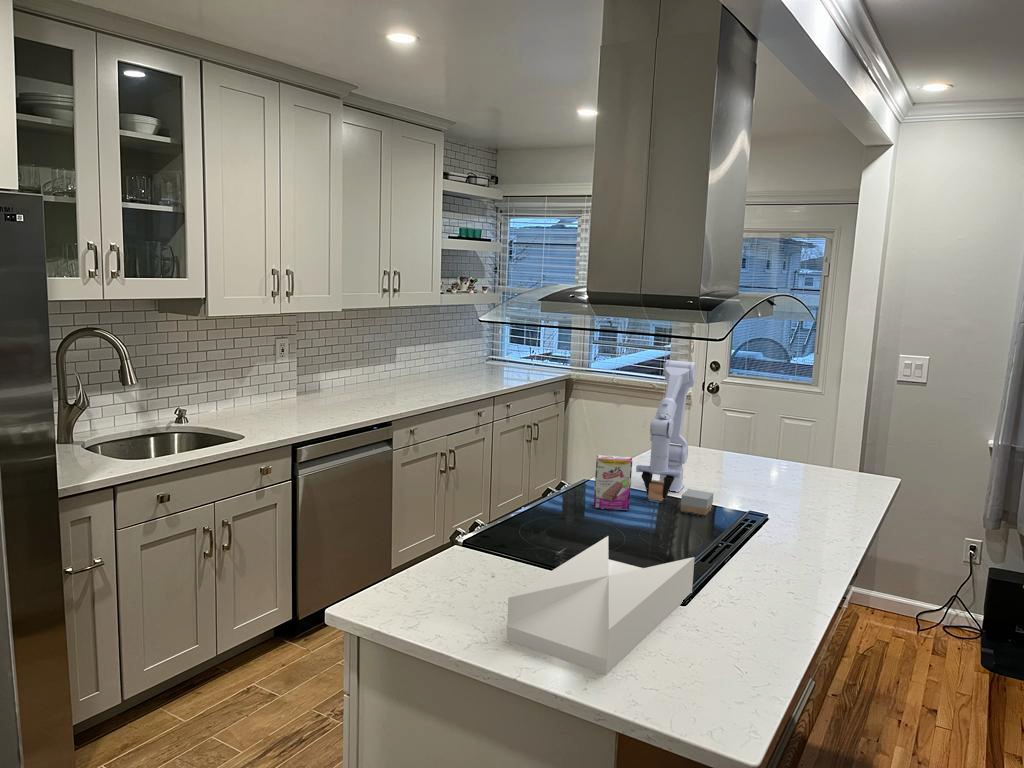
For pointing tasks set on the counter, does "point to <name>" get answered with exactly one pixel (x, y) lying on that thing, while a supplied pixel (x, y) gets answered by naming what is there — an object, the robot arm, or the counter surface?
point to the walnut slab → (695, 509)
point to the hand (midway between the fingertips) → (656, 496)
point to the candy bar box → (612, 482)
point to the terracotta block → (656, 490)
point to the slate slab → (697, 498)
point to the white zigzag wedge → (596, 607)
